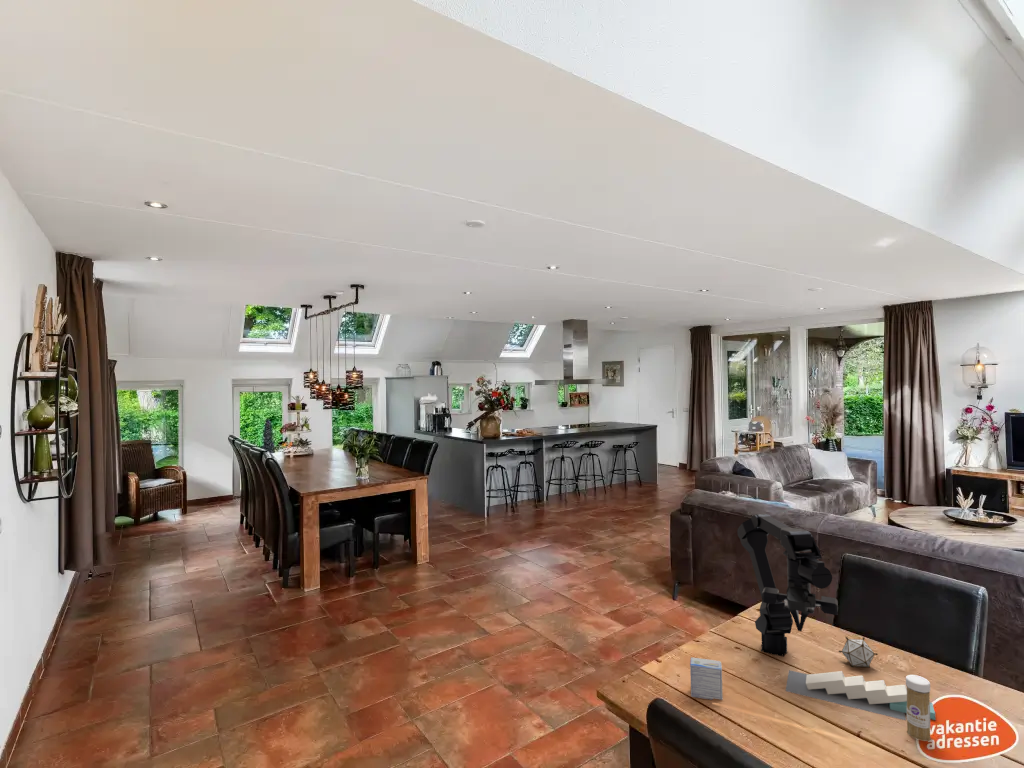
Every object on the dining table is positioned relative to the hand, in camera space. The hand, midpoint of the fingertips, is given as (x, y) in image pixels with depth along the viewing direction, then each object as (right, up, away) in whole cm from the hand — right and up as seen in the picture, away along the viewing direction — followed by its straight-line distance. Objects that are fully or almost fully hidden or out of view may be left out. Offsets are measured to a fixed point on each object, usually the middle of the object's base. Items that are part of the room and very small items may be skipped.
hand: (799, 630), depth 153 cm
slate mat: (+6, -12, -10) cm, 17 cm away
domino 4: (+11, -11, -13) cm, 20 cm away
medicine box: (-30, -13, -9) cm, 34 cm away
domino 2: (+3, -11, -8) cm, 14 cm away
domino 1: (-1, -11, -6) cm, 13 cm away
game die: (+19, -12, +4) cm, 23 cm away
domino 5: (+14, -11, -15) cm, 24 cm away
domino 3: (+7, -11, -11) cm, 17 cm away
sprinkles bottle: (+13, -12, -27) cm, 33 cm away
